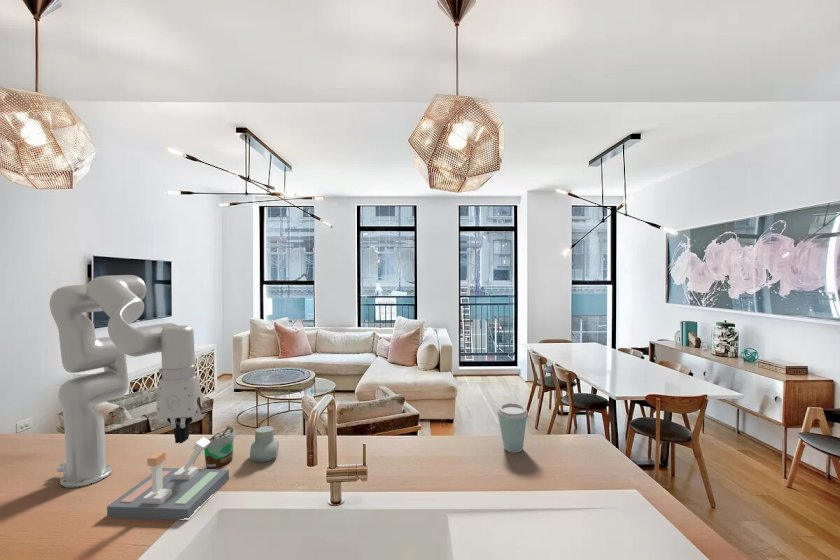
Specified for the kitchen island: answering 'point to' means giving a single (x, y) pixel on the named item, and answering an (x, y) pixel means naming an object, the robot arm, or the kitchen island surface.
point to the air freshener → (264, 445)
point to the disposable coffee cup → (512, 425)
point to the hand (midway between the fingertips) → (182, 440)
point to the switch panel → (169, 503)
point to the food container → (220, 449)
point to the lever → (196, 452)
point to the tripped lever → (156, 470)
